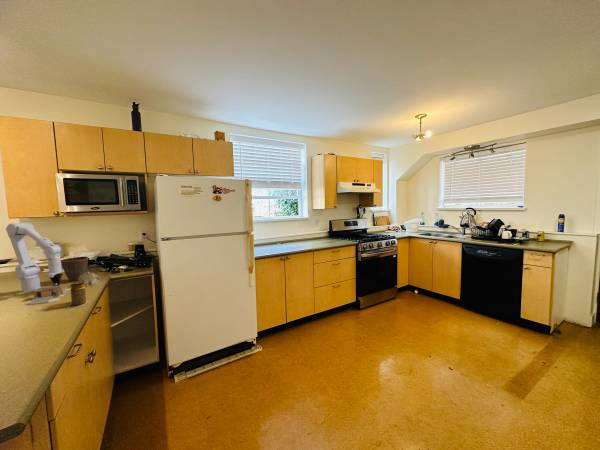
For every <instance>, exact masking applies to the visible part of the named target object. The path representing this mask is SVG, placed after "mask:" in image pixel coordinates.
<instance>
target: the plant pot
mask: <svg viewBox="0 0 600 450" xmlns="http://www.w3.org/2000/svg"><path fill="white" fill-rule="evenodd" d="M88 264H89V257H88V256H76V257H75V256H74V257H68V258H63V259H61V268H62V271H63V270H64V272H63V273H64V274H65V276H66V278H67V279H68V281H69V282H70V283H75V282H80V281H79V280H78V279H79V277H80V276H81V275H82V274H83V273H86V272H87V268H88Z"/></svg>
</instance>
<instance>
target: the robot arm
mask: <svg viewBox="0 0 600 450" xmlns="http://www.w3.org/2000/svg"><path fill="white" fill-rule="evenodd" d="M34 227H35V226H34V225H33V224H32V223H31V222H17V223H9V224H8V225H7V226H6V228H5V230H6V233H7V236H8V238H9V240H10V242H11V246H12V248H13V251H14V254H15V256H16V259H17V262H18V265H17V266H16V267H15V268H14V271H15V277H16V278H17V279H18V280H20V287H21V292H22V293H27V292H34V291H35V290H37V289H38V288H44V287H42V286H41V280H40V277H39V275H40V274H41V268H40V267H39V266H38V263H36V262H33V261H32V259H31V256H30V254H29V251H28V248H27V245H26V242H25V240H24V238H25V237H26V236H28V237H29V238H31V239H33V240H34V241H35V244H36V245H37V246H39V247H38V248H41V250H43V253H44V256H45V258H46V259H47V268H48V278H49V279H50V280H51V282H52V283H56V282H57V283H58V286H61V279H62V278H63V277H62V276H63V275H64V274H63V273H65V272H64V270H63V268H62V264H61V260H62V259H61V254H62V253H63V248H62V246H61V245H59V244H56V243H55V244H54V242H52V241H51V240H50V239H49V238H47V237H43V236H42V235H41V234H40V233H38V231H36V230H35V228H34Z"/></svg>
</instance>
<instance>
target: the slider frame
mask: <svg viewBox="0 0 600 450" xmlns="http://www.w3.org/2000/svg"><path fill="white" fill-rule="evenodd" d="M51 285H52V286H51V287H53V286H58V283H57V282H56V283H53V282H52V283H51ZM64 289H65V288H64V287H63V286H62V291H63V290H64ZM55 296H56V291H55V290H54V294H53V295H52V296H45V297H42V295H39V296H38V297H37V298H35V299H34V300H32V299H31V300H32V301H31V302H30V304H38V303H44V302H49V301H50V300H52V299H53V298H54V297H55Z"/></svg>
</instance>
